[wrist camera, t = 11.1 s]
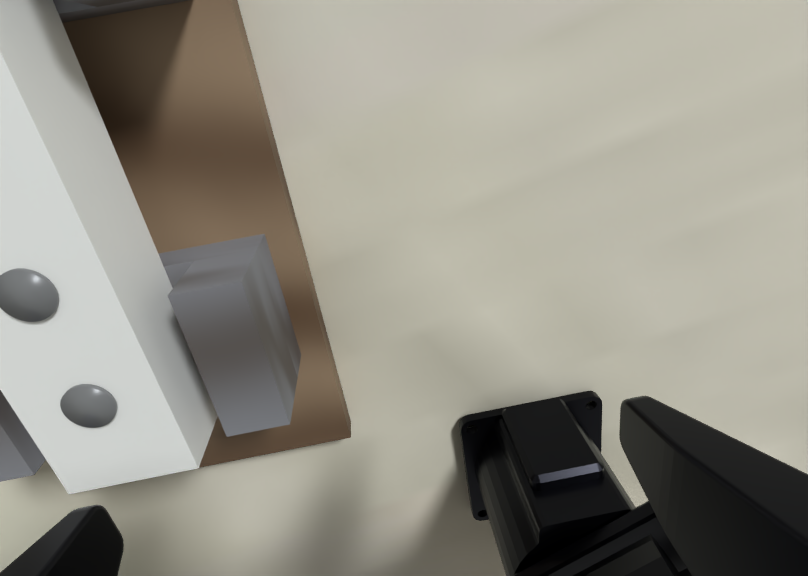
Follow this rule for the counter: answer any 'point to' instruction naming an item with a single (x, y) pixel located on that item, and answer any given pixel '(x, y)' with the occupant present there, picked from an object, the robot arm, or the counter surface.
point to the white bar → (83, 280)
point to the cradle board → (209, 221)
